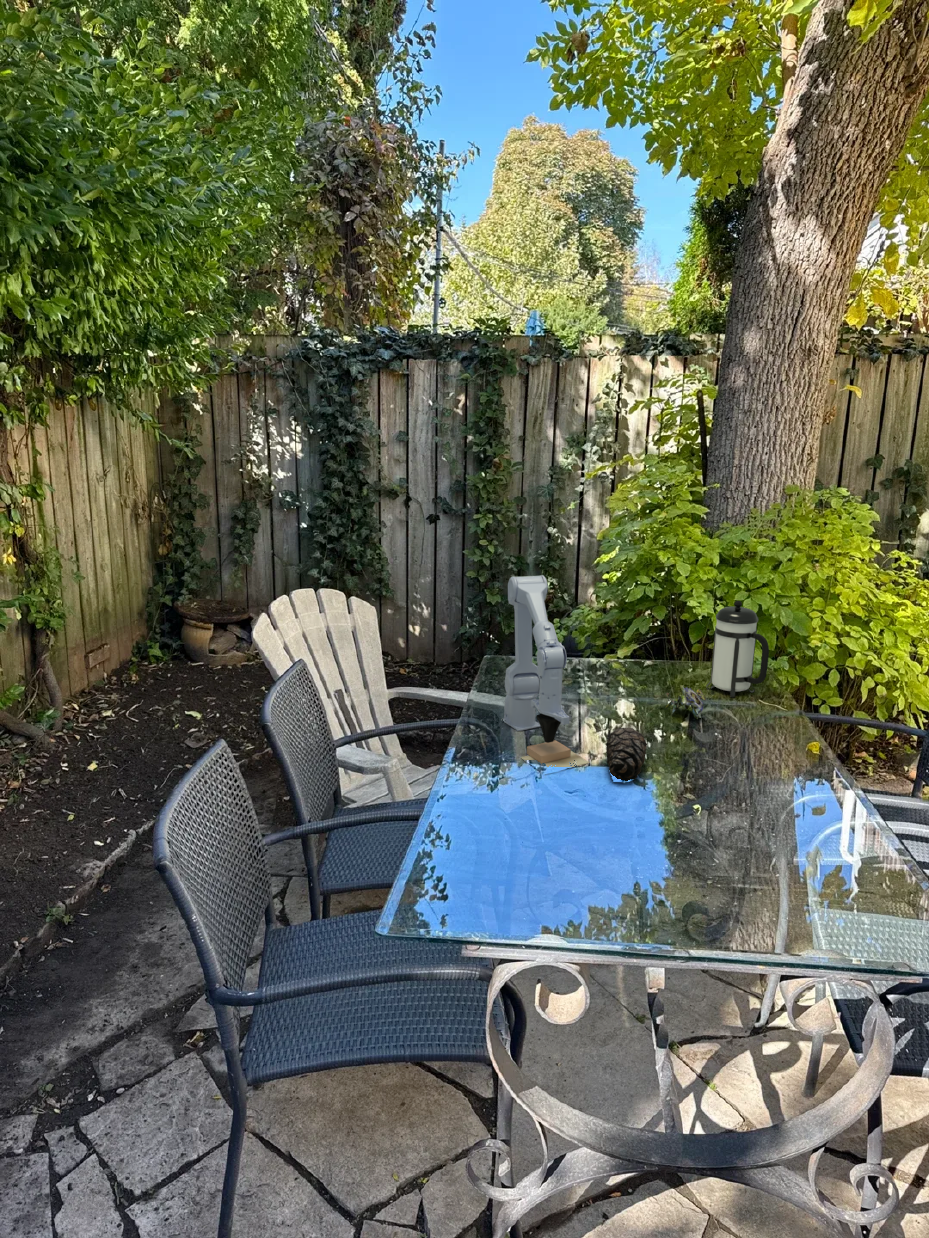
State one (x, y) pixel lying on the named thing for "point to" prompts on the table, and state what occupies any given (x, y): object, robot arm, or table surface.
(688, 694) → the passion flower
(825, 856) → the table surface
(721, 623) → the coffee press
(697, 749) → the table surface
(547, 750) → the block
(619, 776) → the pine cone
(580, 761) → the board
